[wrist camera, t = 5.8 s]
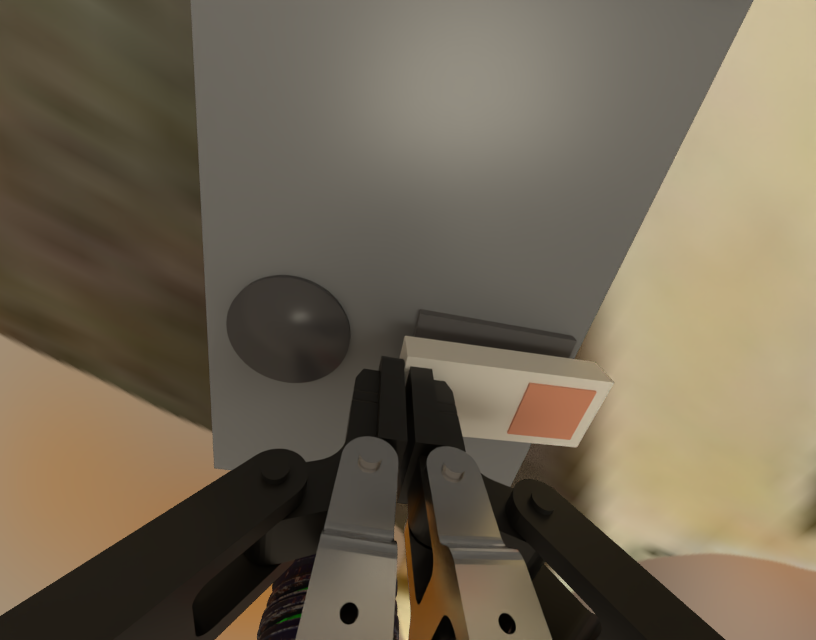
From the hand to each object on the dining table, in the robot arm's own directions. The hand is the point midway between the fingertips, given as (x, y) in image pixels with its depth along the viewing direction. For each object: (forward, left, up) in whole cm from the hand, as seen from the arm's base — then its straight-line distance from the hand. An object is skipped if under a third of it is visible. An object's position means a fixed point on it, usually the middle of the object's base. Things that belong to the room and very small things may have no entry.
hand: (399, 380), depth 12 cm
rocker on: (-3, 0, 0) cm, 3 cm away
